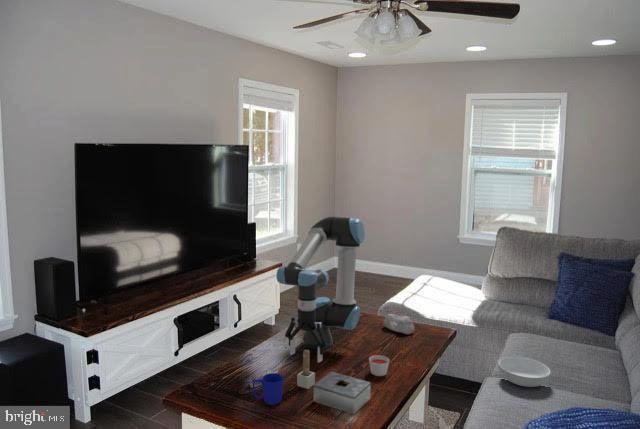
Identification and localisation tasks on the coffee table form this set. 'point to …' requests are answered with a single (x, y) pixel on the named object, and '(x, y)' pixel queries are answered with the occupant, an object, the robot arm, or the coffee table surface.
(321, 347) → the robot arm
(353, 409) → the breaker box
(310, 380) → the hollow square box
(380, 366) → the candle
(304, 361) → the peg
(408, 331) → the decorative stone
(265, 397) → the mug
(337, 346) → the coffee table surface
